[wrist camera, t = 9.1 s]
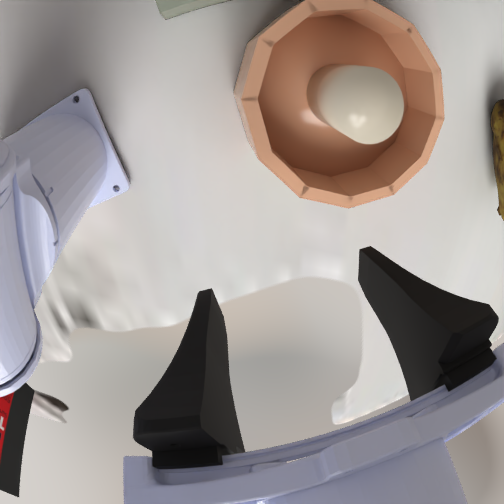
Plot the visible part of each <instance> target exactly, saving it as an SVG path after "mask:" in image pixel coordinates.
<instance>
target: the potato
mask: <svg viewBox="0 0 504 504" xmlns="http://www.w3.org/2000/svg"><path fill="white" fill-rule="evenodd" d="M491 128H492V131H493V133H494V138H493V158H494V170H495V176H496V182H497V188H498V197H499V207H498V209H497V211H498V213H499V215H501V216H502V219H503V221H504V99H501V100H499V101H498V102H497V103H496V104H495V106H494V108H493V111H492V115H491Z"/></svg>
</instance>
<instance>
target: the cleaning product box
mask: <svg viewBox="0 0 504 504" xmlns="http://www.w3.org/2000/svg"><path fill="white" fill-rule="evenodd" d="M33 395H34V390H33V389H32V388H31V387H30V386H29V385H28V384H27V383H26V382H25V383H24V384H23V385H22V386H21V387H20V388H19V389H17V390H16V391H14V392H13V393H10V394H8V395H6V396H3V397H0V490H2V491H5V492H7V493H9V494H12V495H14V496H17V497H19V486H20V485H19V484H20V473H21V464H22V455H23V448H24V441H25V435H26V429H27V424H28V418H29V413H30V409H31V404H32V400H33Z"/></svg>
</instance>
